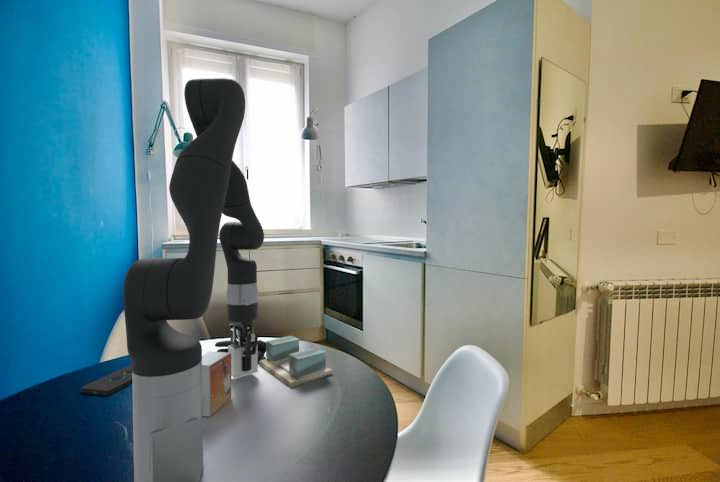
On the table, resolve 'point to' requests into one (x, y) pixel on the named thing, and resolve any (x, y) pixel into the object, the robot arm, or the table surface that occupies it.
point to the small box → (215, 381)
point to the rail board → (294, 361)
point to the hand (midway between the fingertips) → (243, 367)
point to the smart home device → (110, 382)
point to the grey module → (237, 361)
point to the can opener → (260, 345)
